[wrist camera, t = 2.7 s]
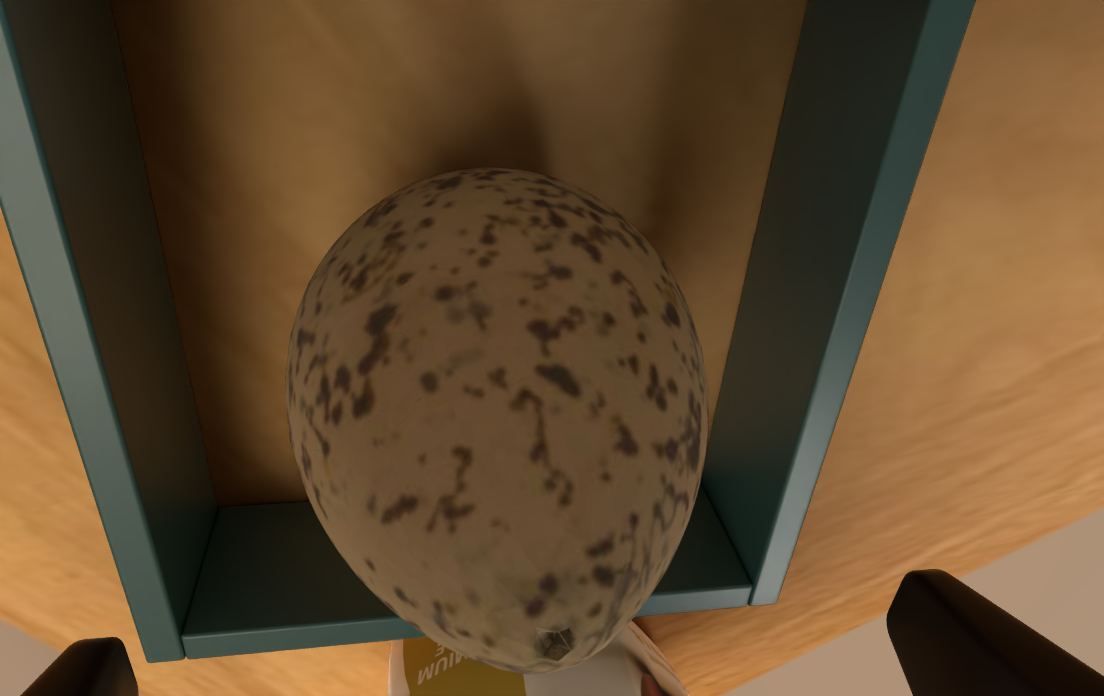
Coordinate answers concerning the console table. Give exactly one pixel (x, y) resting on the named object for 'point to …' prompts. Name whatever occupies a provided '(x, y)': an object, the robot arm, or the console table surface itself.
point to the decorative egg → (500, 413)
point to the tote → (293, 528)
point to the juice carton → (577, 692)
